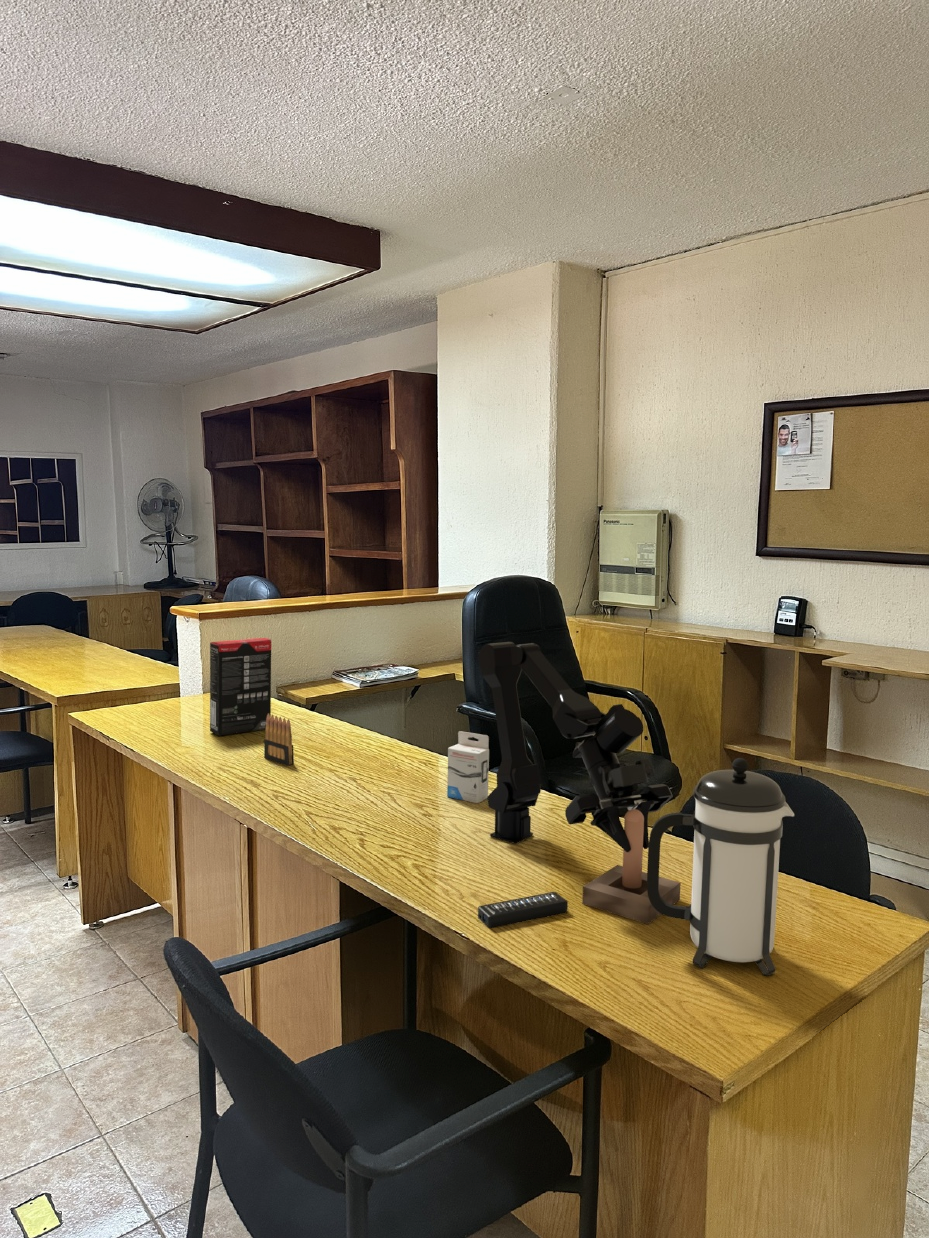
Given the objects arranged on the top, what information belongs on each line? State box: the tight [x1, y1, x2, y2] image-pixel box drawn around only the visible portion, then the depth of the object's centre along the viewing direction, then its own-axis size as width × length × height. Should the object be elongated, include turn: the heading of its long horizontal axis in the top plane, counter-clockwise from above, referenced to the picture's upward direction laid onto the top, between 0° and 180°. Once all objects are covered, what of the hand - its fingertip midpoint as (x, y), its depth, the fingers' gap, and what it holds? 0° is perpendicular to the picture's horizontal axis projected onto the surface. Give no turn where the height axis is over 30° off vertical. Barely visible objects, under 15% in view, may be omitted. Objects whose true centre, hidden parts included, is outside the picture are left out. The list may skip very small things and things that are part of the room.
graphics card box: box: [209, 637, 272, 736], centre depth 261 cm, size 17×7×27 cm, turn 130°
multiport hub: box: [477, 891, 569, 929], centre depth 144 cm, size 4×14×2 cm, turn 115°
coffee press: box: [646, 757, 795, 977], centre depth 130 cm, size 17×16×30 cm
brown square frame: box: [582, 864, 682, 925], centre depth 150 cm, size 12×12×3 cm
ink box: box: [446, 730, 490, 804], centre depth 203 cm, size 8×5×15 cm, turn 60°
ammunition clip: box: [263, 713, 295, 767], centre depth 231 cm, size 11×2×12 cm, turn 47°
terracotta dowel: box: [622, 809, 644, 888], centre depth 149 cm, size 3×3×13 cm
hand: (638, 849), depth 148 cm, fingers closed on terracotta dowel, 3 cm apart
